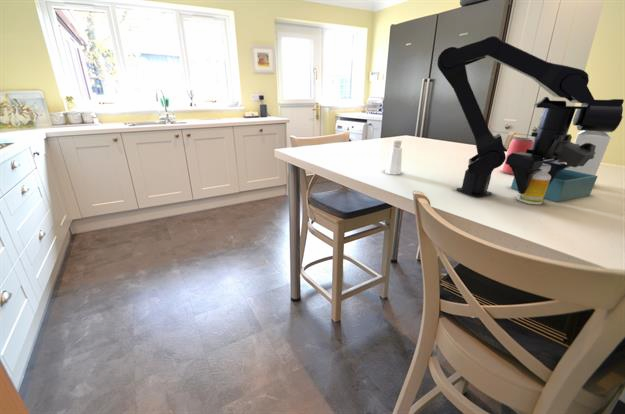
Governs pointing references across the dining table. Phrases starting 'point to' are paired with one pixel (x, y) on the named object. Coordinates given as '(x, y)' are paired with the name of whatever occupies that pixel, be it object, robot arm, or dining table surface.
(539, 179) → the supplement bottle
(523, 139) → the beer can
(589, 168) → the milk carton
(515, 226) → the dining table surface
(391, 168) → the salt shaker
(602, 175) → the dining table surface
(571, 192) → the bin
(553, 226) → the dining table surface
